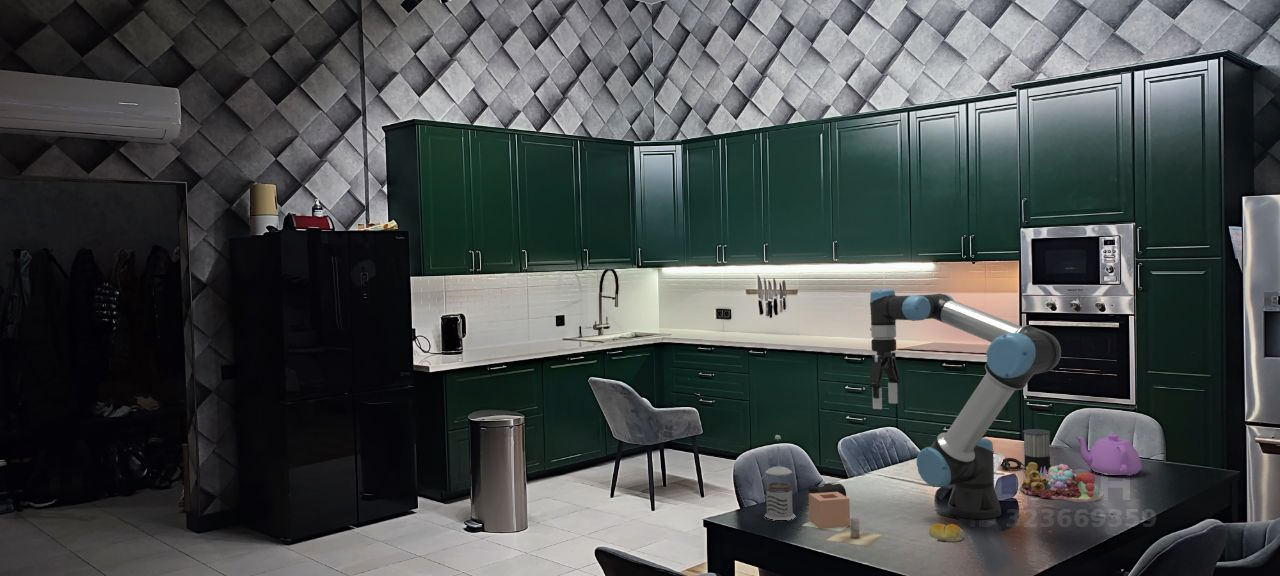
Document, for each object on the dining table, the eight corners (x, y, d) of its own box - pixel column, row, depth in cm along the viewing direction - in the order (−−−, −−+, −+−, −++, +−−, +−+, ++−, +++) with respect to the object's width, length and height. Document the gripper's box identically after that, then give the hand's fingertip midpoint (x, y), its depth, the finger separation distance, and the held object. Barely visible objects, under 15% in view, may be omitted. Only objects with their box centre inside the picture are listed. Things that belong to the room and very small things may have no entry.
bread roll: (932, 532, 258) (932, 518, 258) (965, 536, 253) (965, 522, 253) (925, 540, 251) (924, 525, 251) (958, 544, 246) (958, 529, 246)
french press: (788, 522, 273) (786, 438, 273) (753, 517, 279) (750, 436, 279) (801, 514, 281) (798, 433, 281) (766, 510, 287) (764, 431, 287)
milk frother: (1055, 474, 326) (1054, 432, 326) (1011, 475, 326) (1010, 434, 326) (1039, 466, 340) (1038, 426, 340) (996, 467, 341) (995, 427, 340)
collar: (838, 518, 273) (837, 491, 273) (850, 526, 264) (849, 498, 264) (809, 520, 272) (808, 493, 272) (820, 528, 263) (819, 500, 263)
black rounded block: (821, 510, 285) (821, 489, 285) (807, 506, 292) (807, 484, 292) (846, 506, 290) (846, 485, 290) (832, 501, 296) (832, 480, 296)
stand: (884, 537, 254) (883, 517, 254) (867, 548, 244) (867, 527, 244) (843, 531, 261) (842, 511, 261) (826, 542, 251) (825, 521, 251)
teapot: (1065, 467, 338) (1064, 429, 338) (1127, 467, 335) (1126, 429, 335) (1085, 480, 316) (1084, 440, 316) (1152, 480, 313) (1151, 440, 313)
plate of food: (1021, 499, 293) (1021, 471, 293) (1016, 483, 315) (1016, 456, 315) (1108, 504, 285) (1107, 474, 285) (1097, 487, 307) (1096, 459, 307)
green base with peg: (856, 523, 269) (856, 500, 269) (840, 533, 260) (839, 509, 259) (819, 518, 276) (818, 495, 276) (801, 527, 267) (801, 504, 266)
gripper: (886, 335, 299) (888, 400, 300) (856, 341, 279) (858, 410, 279) (908, 336, 295) (910, 401, 295) (880, 341, 275) (882, 412, 275)
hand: (885, 406), depth 287 cm, fingers open, 13 cm apart
